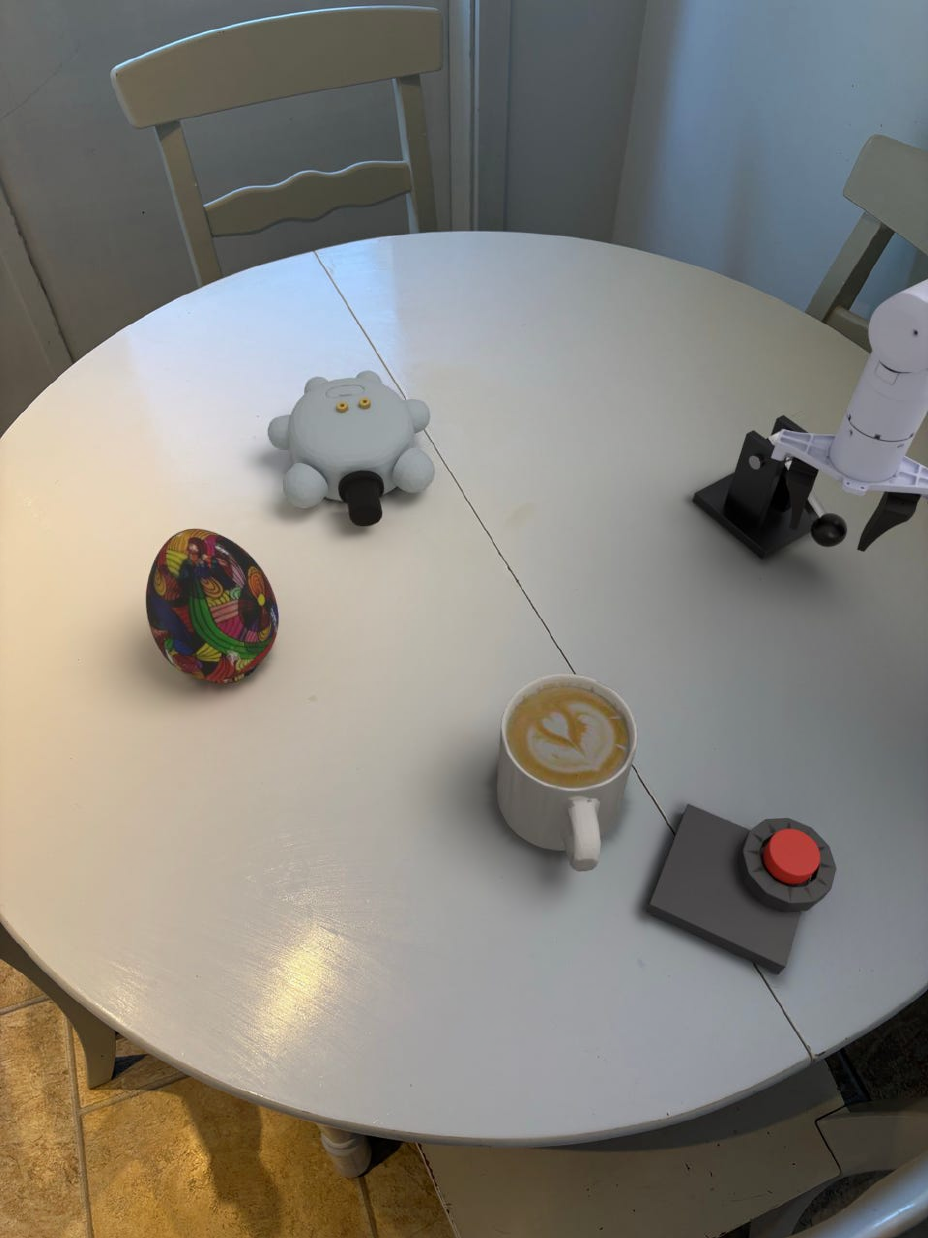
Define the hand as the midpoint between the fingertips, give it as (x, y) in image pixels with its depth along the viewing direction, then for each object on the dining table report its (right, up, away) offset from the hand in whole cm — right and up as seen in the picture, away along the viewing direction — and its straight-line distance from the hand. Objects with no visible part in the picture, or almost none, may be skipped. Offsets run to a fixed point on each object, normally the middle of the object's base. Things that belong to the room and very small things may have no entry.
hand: (828, 533), depth 84 cm
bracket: (-4, +3, +8) cm, 10 cm away
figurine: (-46, +8, +12) cm, 48 cm away
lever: (-2, +4, +2) cm, 5 cm away
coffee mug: (-27, -24, -12) cm, 38 cm away
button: (-11, -26, -18) cm, 34 cm away
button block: (-14, -29, -17) cm, 36 cm away
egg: (-56, -11, -3) cm, 57 cm away
